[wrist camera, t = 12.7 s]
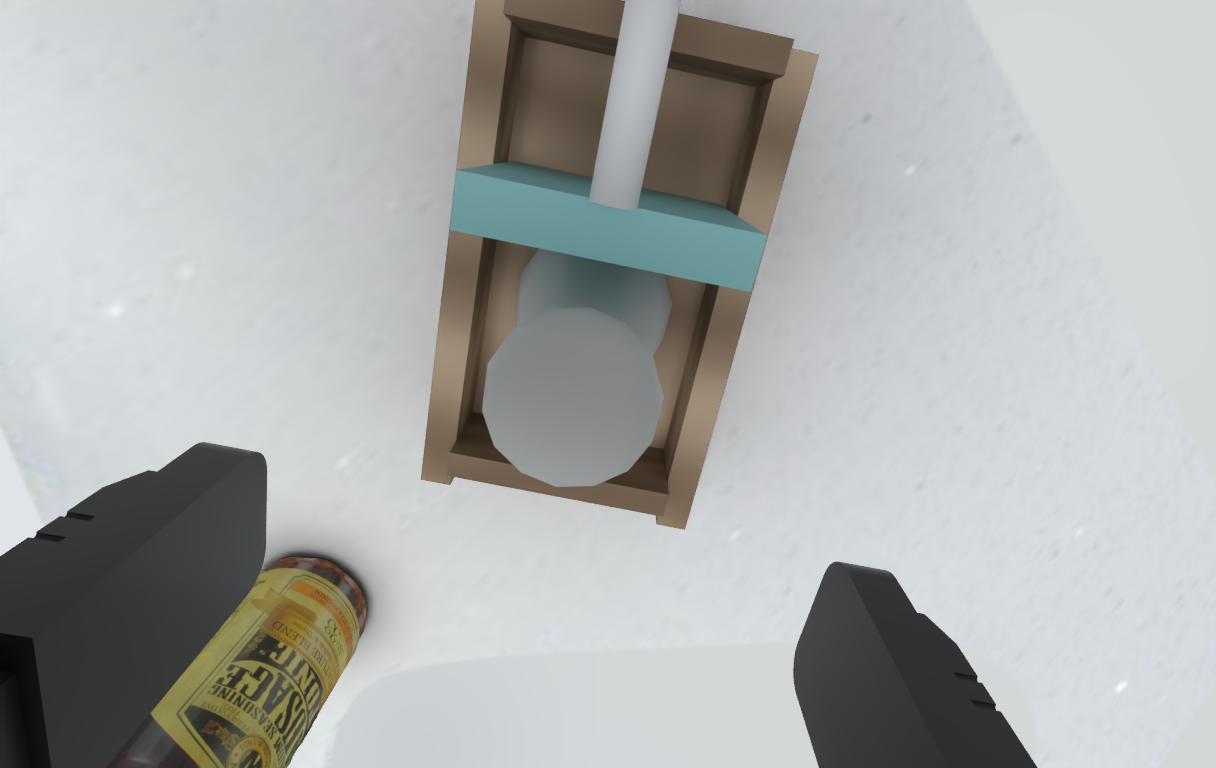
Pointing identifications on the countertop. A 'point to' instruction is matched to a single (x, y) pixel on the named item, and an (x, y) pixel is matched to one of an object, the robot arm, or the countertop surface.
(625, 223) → the pusher paddle
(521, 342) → the salt shaker
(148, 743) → the sauce bottle
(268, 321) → the countertop surface
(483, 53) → the wooden tray
